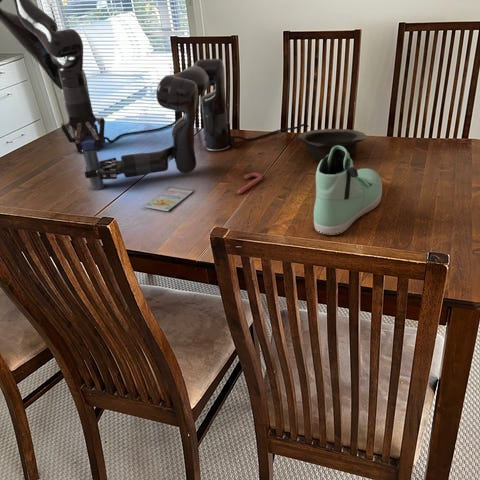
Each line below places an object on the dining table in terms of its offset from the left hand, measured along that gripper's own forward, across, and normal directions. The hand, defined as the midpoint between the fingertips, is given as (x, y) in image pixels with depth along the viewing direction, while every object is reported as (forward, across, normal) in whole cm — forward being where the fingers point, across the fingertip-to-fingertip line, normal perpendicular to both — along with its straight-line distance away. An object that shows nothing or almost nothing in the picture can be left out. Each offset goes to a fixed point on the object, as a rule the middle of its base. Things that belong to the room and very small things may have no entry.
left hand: (89, 151), depth 158 cm
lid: (-3, 0, 0) cm, 3 cm away
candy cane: (+13, +46, -24) cm, 53 cm away
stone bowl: (+12, +82, -14) cm, 84 cm away
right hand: (+7, -3, 0) cm, 7 cm away
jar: (+13, 0, 0) cm, 13 cm away
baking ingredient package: (+13, +20, -22) cm, 32 cm away
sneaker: (+13, +66, -53) cm, 86 cm away
